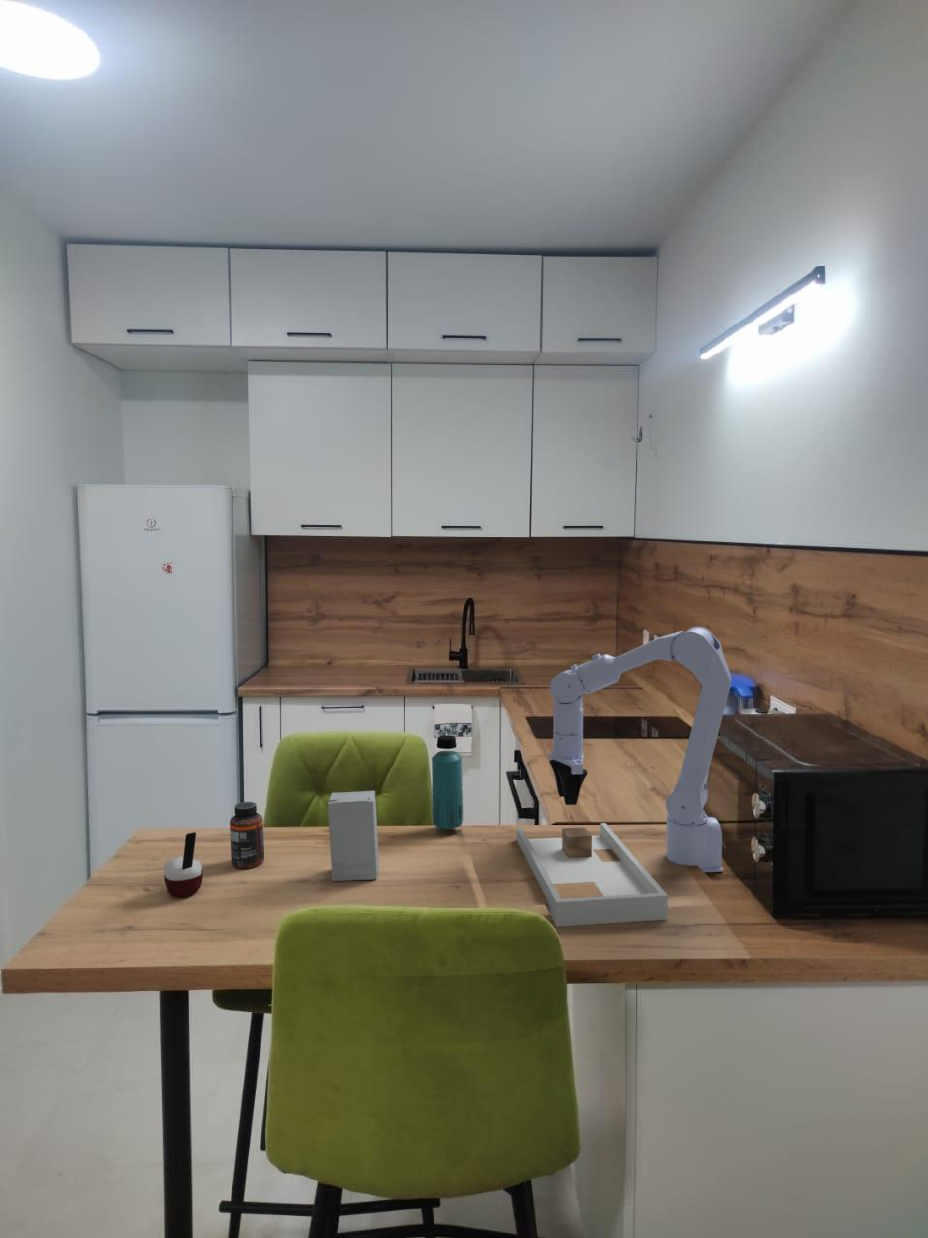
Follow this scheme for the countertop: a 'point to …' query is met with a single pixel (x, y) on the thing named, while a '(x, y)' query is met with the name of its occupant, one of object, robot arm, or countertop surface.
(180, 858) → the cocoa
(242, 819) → the supplement bottle
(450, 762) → the beverage bottle
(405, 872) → the countertop surface
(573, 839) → the walnut block
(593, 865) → the tray
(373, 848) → the skincare box
